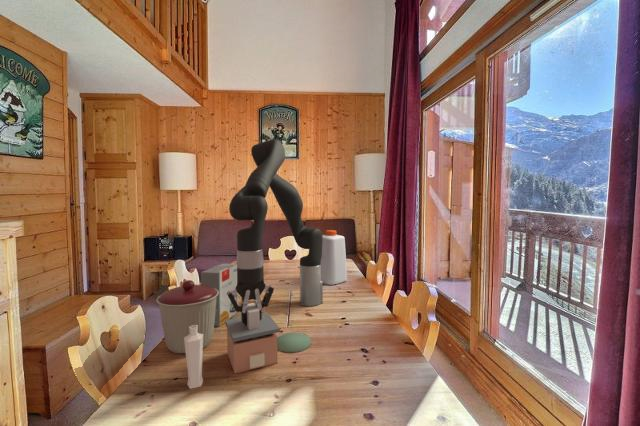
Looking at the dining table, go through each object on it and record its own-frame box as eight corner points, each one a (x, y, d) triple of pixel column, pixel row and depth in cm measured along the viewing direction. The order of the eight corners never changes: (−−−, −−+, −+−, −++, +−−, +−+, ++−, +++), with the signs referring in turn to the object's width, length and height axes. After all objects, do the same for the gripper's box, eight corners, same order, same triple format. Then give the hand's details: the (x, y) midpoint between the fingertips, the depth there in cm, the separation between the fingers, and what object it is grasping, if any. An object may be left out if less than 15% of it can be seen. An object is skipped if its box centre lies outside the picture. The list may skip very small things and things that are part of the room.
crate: (266, 344, 98) (265, 320, 98) (278, 364, 87) (278, 337, 86) (227, 352, 93) (226, 327, 92) (235, 375, 81) (234, 346, 81)
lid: (267, 318, 98) (266, 297, 98) (280, 335, 87) (279, 311, 86) (225, 326, 93) (224, 303, 92) (233, 345, 81) (232, 319, 81)
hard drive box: (219, 327, 111) (218, 273, 109) (200, 325, 112) (199, 272, 111) (239, 311, 126) (238, 263, 125) (222, 310, 127) (221, 262, 126)
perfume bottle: (188, 378, 80) (186, 323, 79) (206, 378, 80) (204, 322, 79) (182, 390, 75) (180, 331, 74) (200, 389, 76) (198, 330, 75)
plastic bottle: (311, 280, 170) (311, 230, 168) (331, 275, 180) (331, 228, 178) (331, 286, 159) (331, 233, 157) (350, 281, 169) (350, 230, 167)
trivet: (302, 331, 107) (302, 330, 107) (317, 347, 96) (317, 345, 96) (269, 339, 102) (269, 337, 102) (280, 356, 91) (280, 354, 91)
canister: (191, 365, 86) (189, 292, 85) (144, 354, 92) (141, 285, 91) (231, 337, 103) (230, 275, 102) (189, 329, 109) (187, 271, 108)
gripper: (270, 259, 95) (271, 314, 96) (223, 264, 89) (224, 322, 90) (277, 264, 88) (278, 323, 89) (227, 270, 82) (229, 333, 83)
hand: (251, 322), depth 90 cm, fingers closed on lid, 3 cm apart
